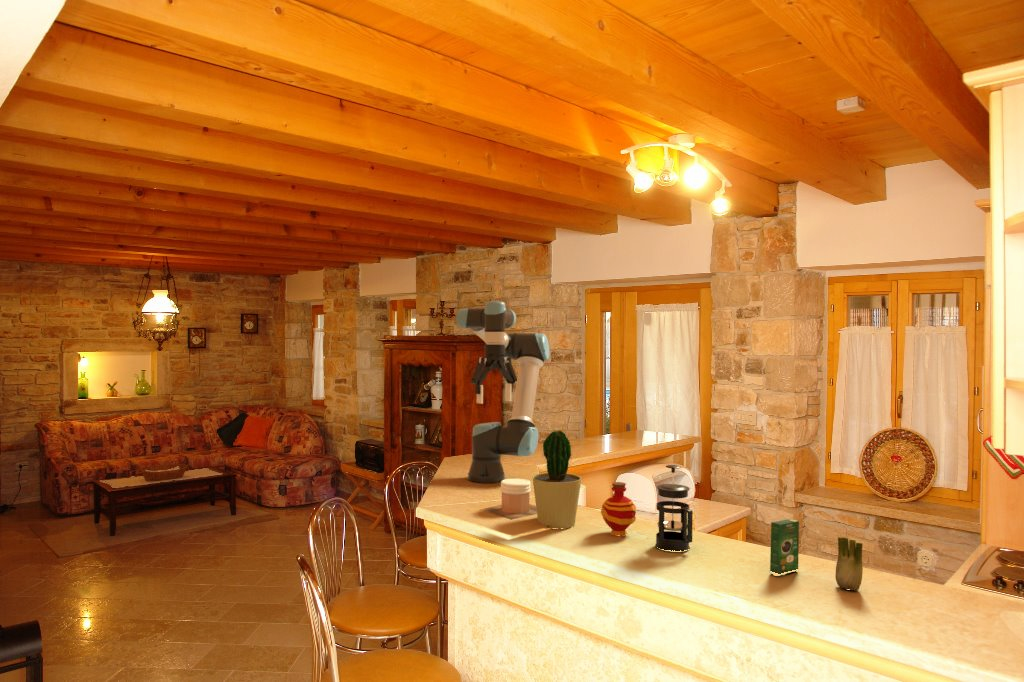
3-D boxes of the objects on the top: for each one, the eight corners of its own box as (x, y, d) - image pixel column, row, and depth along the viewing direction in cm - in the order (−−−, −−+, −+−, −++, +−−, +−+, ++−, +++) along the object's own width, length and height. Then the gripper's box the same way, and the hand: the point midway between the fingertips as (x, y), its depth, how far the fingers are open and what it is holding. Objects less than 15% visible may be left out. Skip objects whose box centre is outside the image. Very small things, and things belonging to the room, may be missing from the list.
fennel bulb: (865, 593, 157) (866, 541, 157) (845, 594, 156) (845, 542, 156) (850, 584, 162) (851, 534, 162) (831, 585, 162) (831, 534, 162)
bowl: (516, 505, 232) (516, 487, 232) (534, 510, 225) (535, 492, 225) (496, 509, 226) (496, 491, 226) (514, 514, 219) (514, 496, 219)
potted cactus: (565, 515, 223) (566, 424, 223) (590, 527, 209) (591, 430, 209) (523, 521, 216) (524, 426, 216) (546, 533, 202) (547, 433, 202)
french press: (646, 545, 192) (647, 463, 192) (669, 540, 197) (670, 460, 197) (678, 556, 182) (679, 470, 182) (701, 550, 187) (702, 467, 187)
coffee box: (789, 568, 173) (790, 517, 173) (799, 572, 171) (800, 519, 171) (769, 574, 169) (769, 521, 169) (779, 577, 167) (779, 524, 166)
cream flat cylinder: (527, 488, 231) (527, 477, 231) (533, 494, 221) (533, 483, 221) (498, 488, 229) (498, 478, 229) (503, 495, 220) (503, 484, 220)
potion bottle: (614, 526, 210) (615, 478, 210) (642, 533, 203) (643, 483, 203) (593, 533, 203) (594, 483, 203) (621, 541, 196) (622, 489, 196)
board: (519, 504, 237) (519, 501, 237) (551, 513, 225) (551, 510, 225) (479, 513, 225) (479, 509, 225) (511, 523, 213) (511, 519, 213)
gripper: (513, 343, 259) (512, 399, 259) (461, 343, 242) (460, 403, 242) (526, 344, 253) (526, 401, 253) (474, 344, 236) (473, 405, 237)
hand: (494, 402), depth 248 cm, fingers open, 13 cm apart
